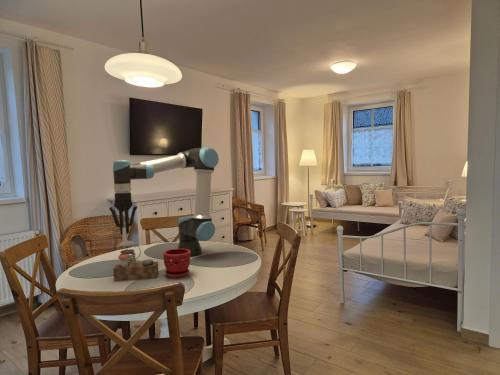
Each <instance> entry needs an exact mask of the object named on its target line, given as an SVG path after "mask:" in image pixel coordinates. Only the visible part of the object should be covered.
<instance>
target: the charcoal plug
mask: <svg viewBox="0 0 500 375" xmlns="http://www.w3.org/2000/svg"><path fill="white" fill-rule="evenodd" d="M153 262H154V259H152V258H151V259H144V260H142V261H141V263H142V264H143V265H145V266H147V265H151V264H153Z"/></svg>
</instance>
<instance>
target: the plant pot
mask: <svg viewBox="0 0 500 375" xmlns="http://www.w3.org/2000/svg"><path fill="white" fill-rule="evenodd" d="M181 253H182V254H181ZM191 257H192V256H191V254H190V250H188V249H178V248H172V249H168V250H165V251H164V252H163V265H164V268H165V271H164V272H165V275H166V276H167V277H169V278H181V277H184V276H186V275H188V274H189V272H190V269H189V267H190V263H191Z"/></svg>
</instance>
